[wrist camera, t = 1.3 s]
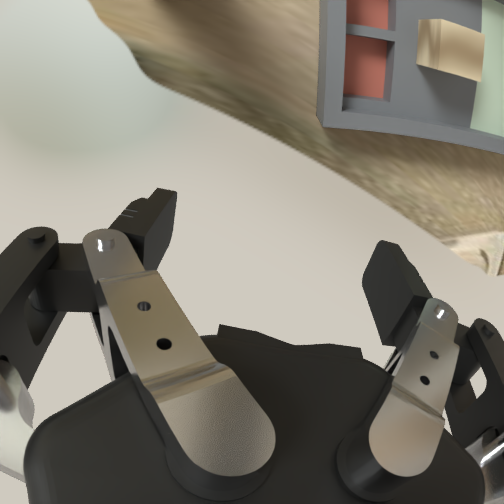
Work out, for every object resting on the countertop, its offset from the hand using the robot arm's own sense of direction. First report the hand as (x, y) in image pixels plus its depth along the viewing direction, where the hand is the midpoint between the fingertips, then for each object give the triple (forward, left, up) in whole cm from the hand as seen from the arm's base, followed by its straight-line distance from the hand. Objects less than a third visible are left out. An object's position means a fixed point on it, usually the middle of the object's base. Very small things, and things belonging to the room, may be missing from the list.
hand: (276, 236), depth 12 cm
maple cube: (-9, +15, -19) cm, 26 cm away
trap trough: (-9, +16, -21) cm, 28 cm away
